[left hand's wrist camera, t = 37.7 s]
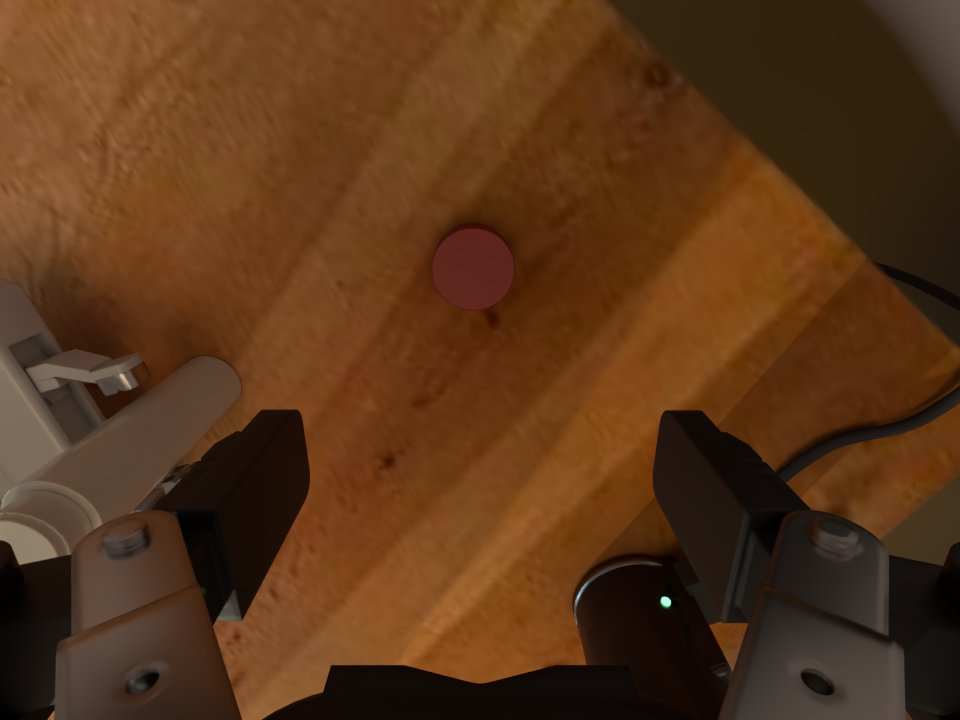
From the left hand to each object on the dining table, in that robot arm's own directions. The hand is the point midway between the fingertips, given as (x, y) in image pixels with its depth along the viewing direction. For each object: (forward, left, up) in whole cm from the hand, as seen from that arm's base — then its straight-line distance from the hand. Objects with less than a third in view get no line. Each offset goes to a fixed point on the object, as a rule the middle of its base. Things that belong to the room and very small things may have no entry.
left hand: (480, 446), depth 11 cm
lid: (0, 0, -20) cm, 20 cm away
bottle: (+19, 0, -21) cm, 29 cm away
